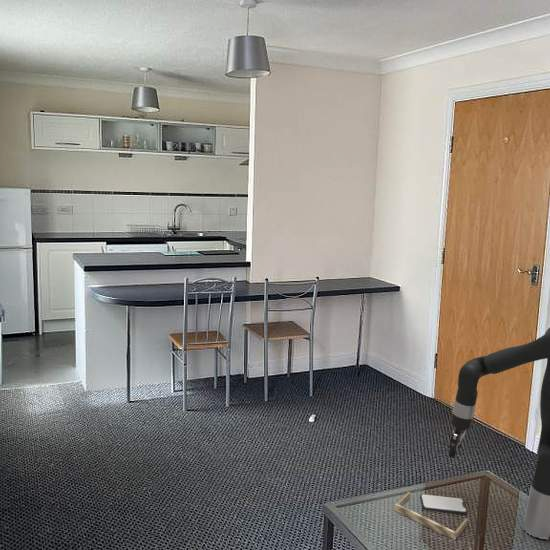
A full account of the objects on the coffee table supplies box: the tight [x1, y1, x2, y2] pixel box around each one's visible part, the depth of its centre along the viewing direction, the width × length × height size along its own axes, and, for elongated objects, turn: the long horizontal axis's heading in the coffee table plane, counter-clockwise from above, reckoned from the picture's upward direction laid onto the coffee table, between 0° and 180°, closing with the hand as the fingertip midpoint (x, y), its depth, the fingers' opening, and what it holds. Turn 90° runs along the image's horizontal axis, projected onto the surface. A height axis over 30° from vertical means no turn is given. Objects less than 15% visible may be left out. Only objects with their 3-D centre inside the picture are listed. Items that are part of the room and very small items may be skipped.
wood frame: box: [393, 491, 469, 541], centre depth 214 cm, size 23×11×2 cm, turn 53°
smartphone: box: [419, 493, 468, 516], centre depth 222 cm, size 9×2×16 cm
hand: (454, 452), depth 222 cm, fingers open, 8 cm apart
